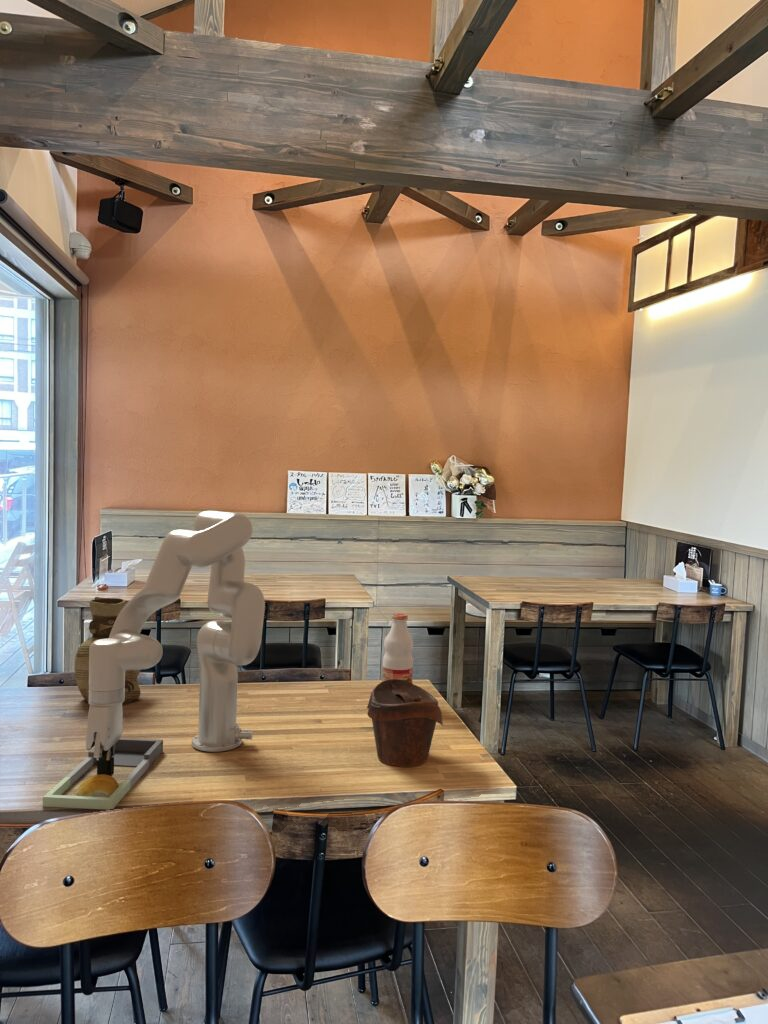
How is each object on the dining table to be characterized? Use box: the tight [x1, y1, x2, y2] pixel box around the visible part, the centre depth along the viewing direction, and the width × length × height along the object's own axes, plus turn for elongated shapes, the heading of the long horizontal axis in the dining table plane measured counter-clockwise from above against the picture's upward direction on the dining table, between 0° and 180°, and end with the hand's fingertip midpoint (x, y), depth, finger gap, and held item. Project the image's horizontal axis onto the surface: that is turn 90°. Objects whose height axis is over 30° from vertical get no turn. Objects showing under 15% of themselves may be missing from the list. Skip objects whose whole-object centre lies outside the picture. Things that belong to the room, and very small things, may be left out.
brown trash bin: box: [366, 679, 444, 768], centre depth 184 cm, size 18×20×18 cm
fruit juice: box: [381, 613, 414, 684], centre depth 226 cm, size 9×9×28 cm
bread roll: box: [76, 774, 119, 797], centre depth 157 cm, size 8×9×4 cm
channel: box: [42, 737, 164, 811], centre depth 166 cm, size 14×32×3 cm, turn 179°
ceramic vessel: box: [74, 597, 141, 705], centre depth 221 cm, size 19×21×30 cm
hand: (105, 775), depth 164 cm, fingers closed
